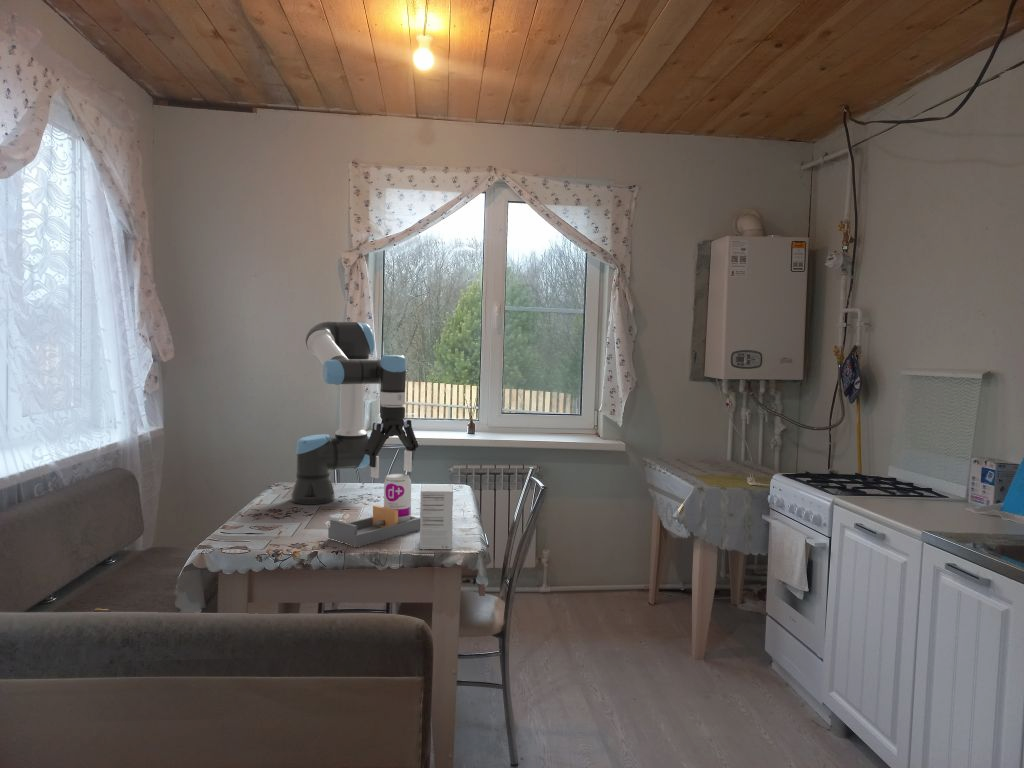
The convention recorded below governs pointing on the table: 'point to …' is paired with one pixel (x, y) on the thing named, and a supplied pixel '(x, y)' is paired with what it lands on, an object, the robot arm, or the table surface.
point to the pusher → (384, 516)
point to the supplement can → (398, 495)
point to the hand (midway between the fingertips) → (391, 474)
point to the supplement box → (436, 516)
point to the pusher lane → (368, 530)
